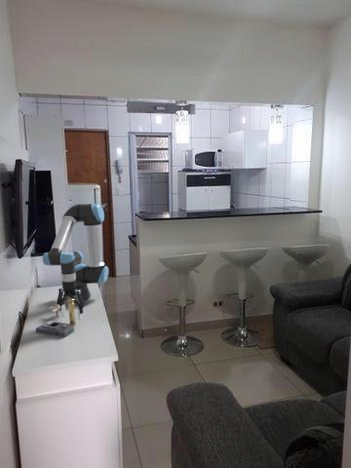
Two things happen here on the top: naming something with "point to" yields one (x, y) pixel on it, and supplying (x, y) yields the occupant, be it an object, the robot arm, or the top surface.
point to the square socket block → (56, 329)
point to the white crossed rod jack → (55, 309)
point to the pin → (71, 310)
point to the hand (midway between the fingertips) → (72, 317)
